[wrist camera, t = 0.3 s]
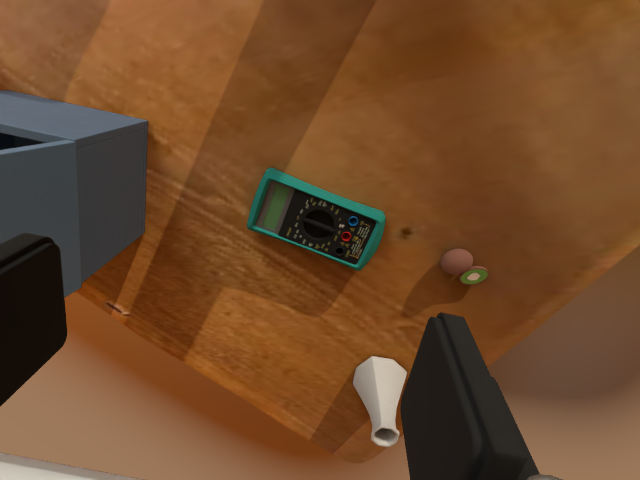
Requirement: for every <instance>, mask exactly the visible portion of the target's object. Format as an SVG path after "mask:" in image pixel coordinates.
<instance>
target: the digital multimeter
mask: <svg viewBox="0 0 640 480" xmlns="http://www.w3.org/2000/svg"><path fill="white" fill-rule="evenodd" d="M385 221H386V219H385V214H384V212H383V211H380V210H377V209H374V208H372V207H369V206H366V205H363V204H360V203H357V202H354V201H351V200H349V199H346V198H343V197H340V196H338V195H335V194H332V193H330V192H327V191H325V190H322V189H320V188H318V187H315V186H313V185H310V184H308V183H305V182H303V181H301V180H299V179H297V178H294V177H292V176H290V175H288V174H285V173H283V172H281V171H279V170H277V169H274V168H268V169H267V171H266V172H265V173H264V175H263V178H262V180H261V182H260V184H259V187H258V189H257V192H256V194H255V197H254V200H253V203H252V207H251V210H250V214H249V218H248V223H247V228H248V229H249V230H252V231H255V232H258V233H261V234H264V235H267V236H270V237H273V238H276V239H279V240H282V241H285V242H288V243H290V244H293V245H296V246H299V247H301V248H304V249H307V250H310V251H312V252H314V253H317V254H319V255H322V256H324V257H327V258H329V259H331V260H334V261H336V262H339V263H341V264H343V265H345V266H348V267H350V268H352V269H354V270H357V271H360V270H361V269H362V268H363V267H364V266H365V265H366V264H367V263H368V261H369V260H370V259H371V257H372V256H373V255H374V253H375V252H376V250H377V248H378V246H379V244H380V241H381V238H382V234H383V231H384V226H385Z"/></svg>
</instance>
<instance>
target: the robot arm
mask: <svg viewBox="0 0 640 480" xmlns="http://www.w3.org/2000/svg"><path fill="white" fill-rule="evenodd" d="M66 337H67V326H66V313H65V301H64V289H63V277H62V265H61V253H60V248H59V246H58V245H56V244H55V242H54V241H53V239H51V238H50V237H45V236H40V235H35V234H30V233H22V234H20V235H18V236H16V237H14V238H12V239H10V240H8V241H6V242H4V243H2V244H0V406H1V405H2V404H3V403H4V402H6V400H7V399H9V398H10V397H11V396H12V395H13V394H14V393H15V392H16V391H17V390H18V389H19V388H20V387H21V386H22V385H23V384H24V383H25V382H26V381H27V380H28V379H29V378H30V377H31V376H32V375H34V374H35V372H37V371H38V370H39V369H40V368H41V367H42V366H43V365H44V364H45V363H46V362H47V361H48V360H49V359H50V358H51V357H52V356H53V355H54V354H55V353H56V352H57V351H58V350H59V349H60V348H61V347H62V346H63V345H64V342H65V340H66ZM401 419H402V426H403V432H404V439H405V446H406V453H407V460H408V467H409V474H410V480H562V479H559V478H556V477H553V476H551V475H542V474H539V471H538V470H537V467H536V465H535V463H534V461H533V459H532V456H531V454H530V452H529V450H528V448H527V446H526V444H525V442H524V439H523V437H522V435H521V433H520V431H519V429H518V427H517V424H516V422H515V420H514V418H513V416H512V414H511V411H510V409H509V407H508V405H507V403H506V401H505V399H504V396H503V394H502V392H501V390H500V388H499V386H498V384H497V382H496V380H495V379H494V378H493V377H491V376H490V373H489V371H488V369H487V367H486V365H485V362H484V360H483V358H482V356H481V354H480V351H479V349H478V347H477V345H476V343H475V340H474V338H473V336H472V334H471V332H470V329H469V327H468V325H467V323H466V321H465V319H464V318H463V317H461V316H456V315H450V314H445V313H439V314H438V315H437V317H436V318H435V317H430V318H429V320H428V323H427V326H426V329H425V331H424V334H423V337H422V340H421V343H420V346H419V349H418V352H417V355H416V358H415V361H414V364H413V367H412V370H411V372H410V375H409V378H408V381H407V384H406V387H405V390H404V393H403V396H402V400H401ZM0 480H143V479H138V478H133V477H128V476H122V475H117V474H112V473H106V472H101V471H96V470H91V469H85V468H80V467H75V466H69V465H64V464H59V463H53V462H48V461H43V460H37V459H32V458H27V457H21V456H16V455H10V454H5V453H0Z"/></svg>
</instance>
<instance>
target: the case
mask: <svg viewBox="0 0 640 480" xmlns="http://www.w3.org/2000/svg"><path fill="white" fill-rule="evenodd" d="M147 131H148V121H147V120H143V119H139V118H134V117H130V116H125V115H120V114H116V113H111V112H106V111H102V110H97V109H93V108H88V107H83V106H79V105H74V104H70V103H65V102H60V101H56V100H51V99H47V98H42V97H37V96H33V95H28V94H23V93H19V92H14V91H10V90H0V150H4V149H11V148H17V147H24V146H30V145H37V144H43V143H49V142H56V141H62V140H71V141H74V142H76V160H77V185H78V209H79V234H80V258H81V283H83V282H84V281H85V280H86V279H88V278H89V277H90V276H91V275H93V274H94V273H95V272H96V271H98V270H99V269H100V268H101V267H103V266H104V265H105V264H106V263H108V262H109V261H110V260H111V259H112V258H114V257H115V256H116V255H117V254H119V253H120V252H121V251H122V250H124V249H125V248H126V247H127V246H129V245H130V244H131V243H132V242H134V241H135V240H136V239H137V238H139V237H140V236H141V235H142V234H143V233H144V232H145V199H146V165H147Z"/></svg>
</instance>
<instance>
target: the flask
mask: <svg viewBox="0 0 640 480" xmlns="http://www.w3.org/2000/svg"><path fill="white" fill-rule="evenodd" d="M406 375H407V372H406V371H405V370H404V369H403V368H402V367H401V366H400V365H399V364H398V363H396V362H395V361H394V360H393V359H387V358H381V357H375V356H371V357H370V358H369V359H367V360H366V361H365V362H363V363H362V364H360V365H359V366H358V367H356V371H355V375H354V380H353V385H354V387H355V389H356V391H357V392H358V394H359V396H360V397H361V399H362V401H363V403H364V405H365V407H366V409H367V411H368V413H369V415H370V419H371V422H372V427H373V430H372V434H371V440H372V441H373V442H374V443H376V444H377V445H378V446H384V447H390V446H392V445H393V444H395V443H396V442H397V441H398V438H399V431H398V430H397V429H396V423H395V418H396V408H397V405H398V401H399V398H400V395H401V392H402V389H403V385H404V382H405V378H406Z"/></svg>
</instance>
